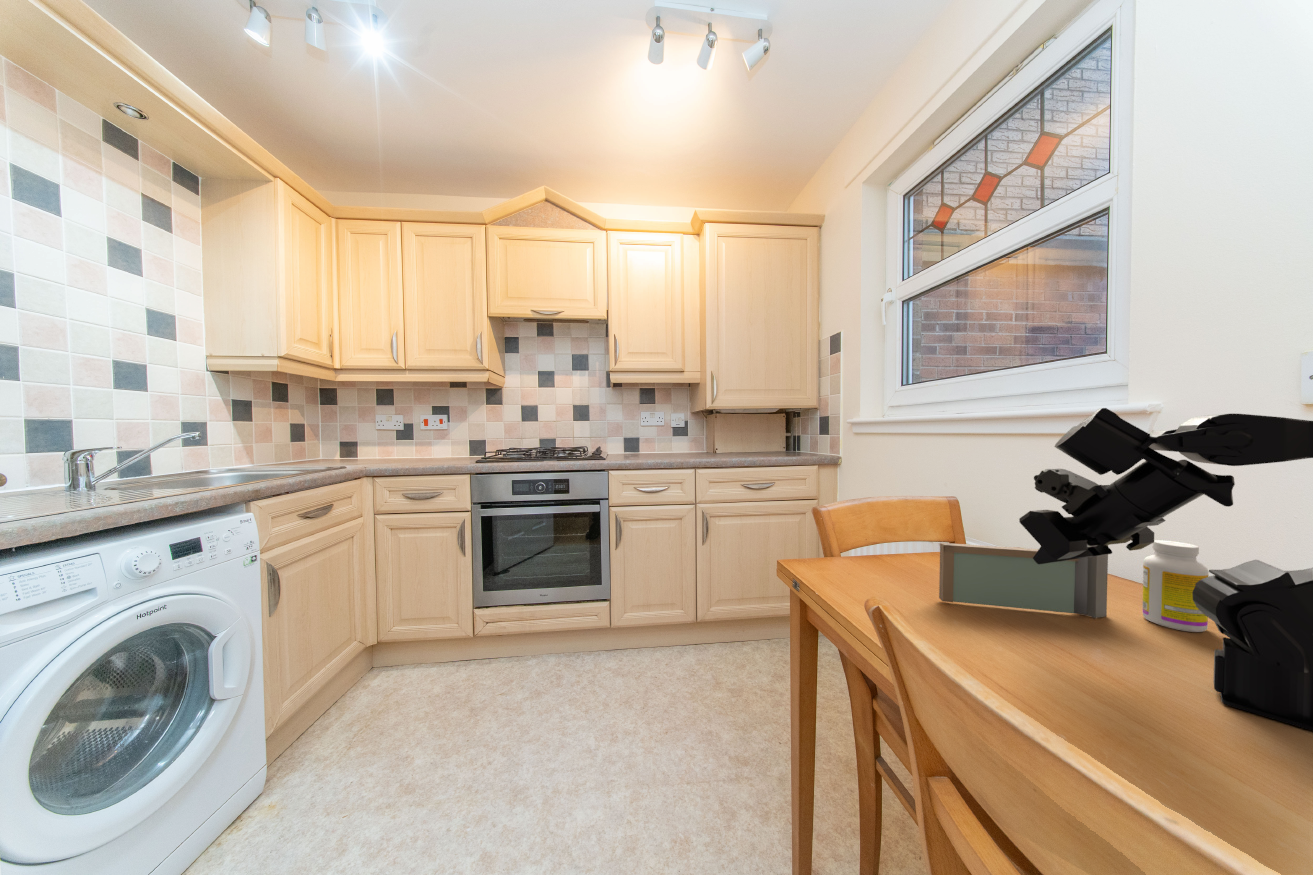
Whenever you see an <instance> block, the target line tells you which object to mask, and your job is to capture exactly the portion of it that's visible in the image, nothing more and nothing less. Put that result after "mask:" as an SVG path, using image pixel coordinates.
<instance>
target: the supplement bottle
mask: <svg viewBox="0 0 1313 875" xmlns="http://www.w3.org/2000/svg"><path fill="white" fill-rule="evenodd" d="M1152 549H1153V551H1154V554H1151V555H1148V556H1145V558H1144V559H1143V562H1142V563H1143V564H1142V565H1143V566H1142V616H1143V618H1144V619H1146V620H1147V621H1150V622H1151V623H1154V624H1156V625H1159V626H1162V627H1165V628H1168V629H1172V630H1178V631H1181V632H1192V633H1203V632H1206V630H1208V627H1209V626H1208V624H1209V623H1208V622H1209V621H1208V620H1209V618H1208V617H1207V616H1206V615H1204V614H1203V613H1202V612H1201V611H1200V610H1199V609H1198V608H1197V607H1196V605H1195V603H1194V601H1193V594H1192V592H1193V590H1194V588H1195V586H1196V585H1195V584H1196V583H1197V582H1198V581H1200V580H1201V579H1204V578H1206V577H1209V569H1208V567H1207V566H1205V564H1203V563H1201V562H1200V561H1198V560H1197V557H1198V555H1199V554H1200V552H1199V551H1200V547H1199V546H1198V545H1195V544H1192V543H1189V542H1188V543H1187V542H1181V541H1173V540H1164V539H1163V540H1162V539H1156V540H1155V539H1154V543H1152Z"/></svg>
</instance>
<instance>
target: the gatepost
mask: <svg viewBox="0 0 1313 875" xmlns="http://www.w3.org/2000/svg"><path fill="white" fill-rule="evenodd" d="M1107 546H1108V547H1109V545H1107ZM1108 563H1109V554H1108V555H1101V556H1094V557H1088V585H1087V615H1085V616H1087V617H1090V618H1093V619H1098V618H1105V617H1107V609H1108V605H1107V604H1108V575H1109V574H1108V573H1109V572H1108V571H1109V564H1108Z"/></svg>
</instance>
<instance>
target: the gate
mask: <svg viewBox="0 0 1313 875" xmlns="http://www.w3.org/2000/svg"><path fill="white" fill-rule="evenodd" d="M1038 550H1039V548H1038V549H1037V548H1026V547H1011V546H1008V547H1007V546H998V545H997V546H996V545H981V544H966V543H951V542H949V543H948V542H940V543H939V583H938V584H939V585H938V586H939V587H938V590H939V591H938V598H939V599H940V601H941V602H944V603H945V602H946V603H947V602H948V603H963V604H972V605H980V606H981V605H983V606H994V607H1005V608H1014V609H1015V608H1016V609H1023V610H1024V609H1025V610H1035V611H1044V612H1045V611H1047V612H1056V613H1066V614H1077V615H1083V616H1086V615H1087V585H1088V557H1087V558H1080V559H1073V560H1066V561H1059V562H1053V563H1046V564H1037V563H1036V562H1035V561H1034V559H1033V557H1034V555H1035V554H1036V553H1037V551H1038Z"/></svg>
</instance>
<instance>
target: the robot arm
mask: <svg viewBox="0 0 1313 875" xmlns="http://www.w3.org/2000/svg"><path fill="white" fill-rule="evenodd" d="M1054 448H1055V449H1057V450H1059V451H1060V452H1062V453H1064V454H1066V455H1067V456H1068V457H1070V458H1071V459H1073V460H1075V461H1076V462H1079V463H1080V464H1082V465H1083V466H1085V467H1086V468H1088V469H1090V470H1092V471H1093V472H1095V473H1096V474H1097V475H1099V476H1102V475H1105V474H1108V473H1109V472H1112V473H1113V474H1115V475H1116V476H1117V475H1121V474H1123V473H1125V474H1123V475H1122V476H1120V477H1119V478H1118V479H1116V480H1115V481H1114V482H1111V483H1110V484H1098V483H1097V482H1096V481H1093V480H1090V479H1088V478H1086V477H1084V476H1083V475H1079V474H1077V473H1075V472H1073V471H1070V470H1069V469H1068V470H1067V469H1064V468H1046V469H1043V470H1041V471H1040V473H1039V474H1035V475H1034V476H1033V480H1034V481H1035V482H1034V489H1035V490H1036V491H1037V492H1039V493H1044V494H1046V495H1048V496H1050V497H1052V498H1054V499H1056V500H1058V501H1060V502H1061V503H1065V504H1063V505H1062V506H1061V509H1063V511H1065V513H1067V514H1068V515H1071V516H1063V514H1062V513H1061V512H1059V511H1058V510H1053V509H1052V510H1050V509H1039V510H1038V509H1037V510H1036V509H1035V510H1029V511H1028V512H1026V513H1024V515H1022V516H1020V517H1019V518H1018V519H1019V524H1021V526H1022V527H1023V528H1024V529H1025V530H1026V532H1028V534H1030V535H1031V537H1032V538H1033V539H1034V540H1035V541H1036V542H1037V544H1039V545H1040V547H1039V548H1038V549H1039V550H1038V551H1037V553H1036V554H1035V555H1034V557H1033V559H1034V561H1035V562H1036V563H1037V564H1046V563H1053V562H1059V561H1066V560H1073V559H1080V558H1087V557H1094V556H1101V555H1108V556H1109V555H1112V554H1113V551H1112V549H1111V548H1110V547H1109V546H1110V545H1118V544H1126V543H1127V545H1126V546H1125V548H1126V549H1127V550H1128V551H1130V552H1131V551H1137V550H1142V549H1145V548H1146V547H1148V546H1150V545H1153V543H1154V540H1155V531H1153V530H1152V529H1151V528H1150V527H1154V526H1159V525H1161V524H1163V523H1164V522H1167V521H1166V519H1165V517H1167V516H1168V515H1169V514H1171V513H1174V512H1175V511H1176V510H1178V509H1181V508H1182V507H1184V506H1186V505H1188V504H1189V503H1191V502H1193V501H1194V500H1196V499H1198V498H1200V497H1202V496H1206V497H1208V498H1210V499H1212V500H1213V501H1215V502H1216V503H1218V504H1220V505H1221V506H1223V507H1228V508H1229V507H1232V506H1233V505H1234V498H1233V489H1234V487H1235V485H1236V483H1235V477H1234V476H1233V475H1231V474H1228V475H1226V474H1224V475H1223V474H1222V475H1221V474H1215V473H1212V472H1209V471H1207V470H1205V469H1204V468H1202V467H1200V466H1198V465H1197V464H1195V463H1201V464H1202V463H1203V464H1213V465H1222V466H1229V467H1240V466H1241V467H1242V466H1252V465H1254V466H1255V465H1261V464H1262V465H1263V464H1274V463H1284V462H1291V461H1299V460H1305V459H1313V420H1307V419H1301V418H1300V419H1299V418H1291V417H1290V418H1289V417H1285V416H1283V417H1282V416H1270V415H1260V414H1249V413H1246V414H1245V413H1224V414H1222V413H1221V414H1211V415H1210V414H1209V415H1201V416H1195V417H1192V418H1188V420H1186V421H1184V422H1182V423H1181V424H1180V425H1179V426H1178V427H1177V428H1176V429H1171V430H1153V431H1151V432H1150V433H1148V432H1146V431H1144V430H1142V429H1141V428H1139V427H1137V426H1136V425H1134V424H1132V423H1130V422H1128V421H1126V420H1125V419H1123V418H1122V417H1120V416H1119V415H1118V414H1117V413H1115V412H1114V411H1112V410H1111V409H1108V408H1107V407H1103V408H1102V407H1101V408H1098V409H1097V410H1096V411H1095V412H1093V414H1091V415H1090V416H1088V417H1086V418H1085V419H1084V420H1083V421H1081V422H1080V423H1079V424H1078V425H1074V426H1072V427H1071V428H1070V429H1069V430H1068V431H1067V432H1066V433H1064V434H1063V436H1061V437H1060V439H1058V441H1057V442H1056V443H1055V445H1054ZM1159 451H1163V452H1174V453H1175V452H1178V453H1179V454H1180V455H1182V456H1183V457H1185V458H1187V459H1188V460H1187V459H1180V460H1176V459H1173V458H1171V457H1168V456H1167V455H1164V454H1162V453H1160V452H1159ZM1142 460H1144V461H1143V462H1141V463H1140V464H1139V465H1137V466H1136V467H1134V466H1135V465H1136V464H1138V463H1139V462H1140V461H1142ZM1189 460H1190V461H1189ZM1191 461H1192V462H1191ZM1193 462H1195V463H1193ZM1133 467H1134V468H1133ZM1131 468H1132V469H1131ZM1126 472H1127V473H1126ZM1130 541H1131V542H1130ZM1128 542H1130V543H1128ZM1107 545H1108V546H1107ZM1208 573H1210V574H1212V575H1208V577H1206V578H1204V579H1201V580H1200V581H1198V582H1197V583H1196V584H1195V585H1196V586H1195V588H1194V590H1193V592H1192V594H1193V601H1194V603H1195V605H1196V607H1197V608H1198V609H1199V610H1200V611H1201V612H1202V613H1203V614H1204V615H1206V616H1207V617H1208V619H1210V620H1211V621H1213V622H1214V624H1215V626H1216V628H1217V630H1218V631H1219V632H1220V633H1221V634H1223V635H1225V636H1226V637H1223V638H1222V649H1219V648H1217V649H1214V650H1213V652H1214V653H1213V679H1212V680H1213V689H1214V691H1216V692H1217V693H1219V694H1220V699H1221V703H1222V704H1223V705H1226V706H1229V707H1232V708H1235V709H1239V710H1242V711H1245V712H1248V713H1253V714H1255V715H1259V716H1262V717H1266V718H1267V719H1268V718H1269V719H1272V720H1275V721H1279V722H1283V723H1284V724H1285V723H1286V724H1289V725H1292V726H1295V727H1297V728H1298V727H1299V728H1302V729H1305V730H1308V731H1311V732H1313V567H1310V568H1306V569H1299V570H1297V569H1295V570H1283V569H1280V568H1278V567H1276V566H1273V565H1271V564H1268V563H1266V562H1264V561H1262V560H1260V559H1253V560H1250V561H1249V560H1248V561H1245V562H1243V563H1240V564H1238V565H1236V566H1232V567H1229V568H1224V569H1208Z"/></svg>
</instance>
